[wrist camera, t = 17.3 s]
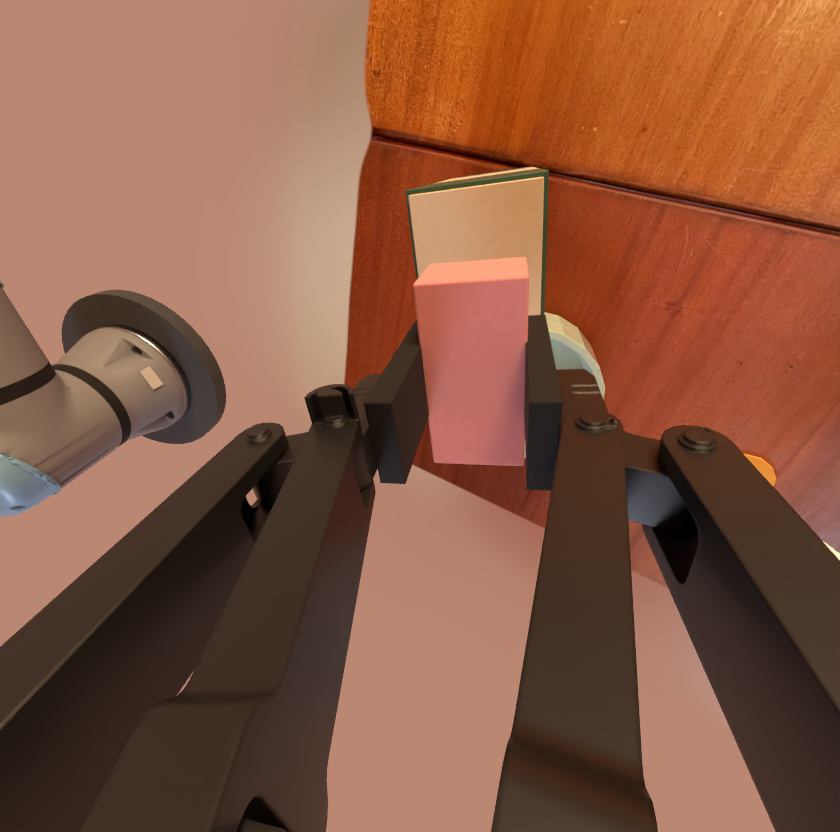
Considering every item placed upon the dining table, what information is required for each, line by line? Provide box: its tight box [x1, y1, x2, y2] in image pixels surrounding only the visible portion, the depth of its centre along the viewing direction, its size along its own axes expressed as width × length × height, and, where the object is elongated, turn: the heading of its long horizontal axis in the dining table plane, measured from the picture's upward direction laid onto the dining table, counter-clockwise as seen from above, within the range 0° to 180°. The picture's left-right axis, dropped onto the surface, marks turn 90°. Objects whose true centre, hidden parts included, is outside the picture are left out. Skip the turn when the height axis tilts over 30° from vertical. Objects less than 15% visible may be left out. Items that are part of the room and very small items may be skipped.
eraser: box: [413, 257, 529, 466], centre depth 15 cm, size 7×4×3 cm, turn 6°
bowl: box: [524, 312, 605, 458], centre depth 42 cm, size 14×14×6 cm
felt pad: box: [409, 177, 544, 315], centre depth 19 cm, size 6×9×1 cm, turn 7°
